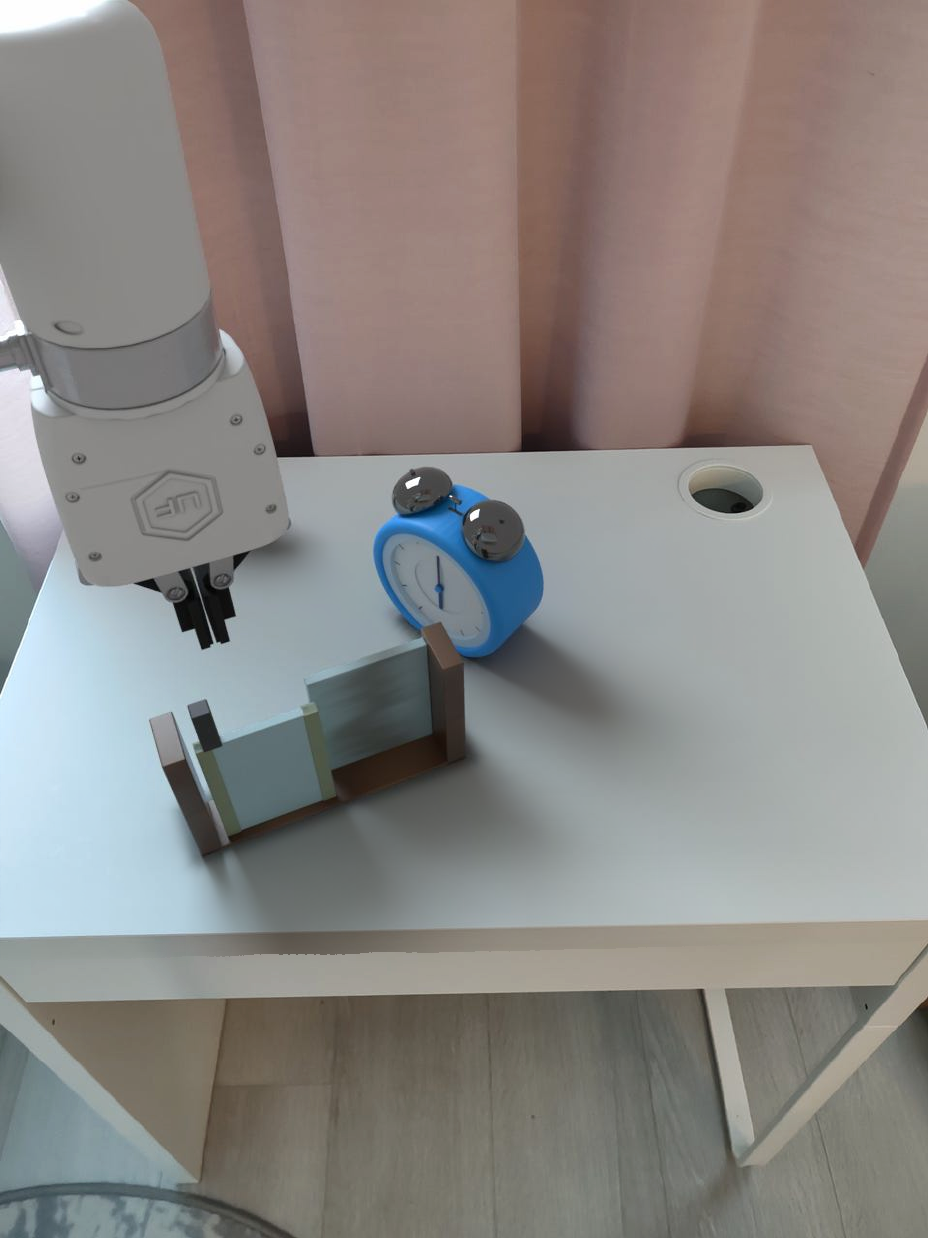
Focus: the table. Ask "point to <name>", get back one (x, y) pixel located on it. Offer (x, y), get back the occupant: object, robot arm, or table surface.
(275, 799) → the pane
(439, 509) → the alarm clock
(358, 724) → the window frame
